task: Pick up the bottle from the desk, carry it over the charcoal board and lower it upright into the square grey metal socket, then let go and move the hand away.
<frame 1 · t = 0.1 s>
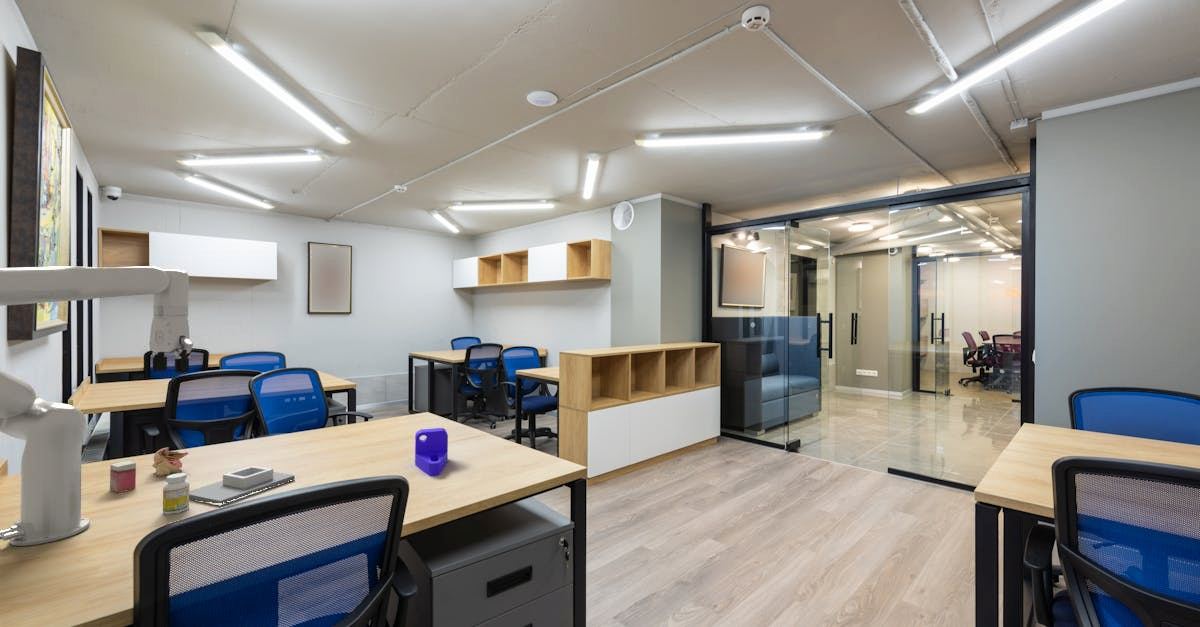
hand: (170, 371, 136), 37 cm above the table, tool pointing down, fingers open, 9 cm apart
small box: (122, 490, 142), on the table
supplement bottle: (176, 511, 128), on the table
bracket: (432, 468, 166), on the table
socket holder: (241, 488, 144), on the table
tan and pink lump: (167, 473, 157), on the table
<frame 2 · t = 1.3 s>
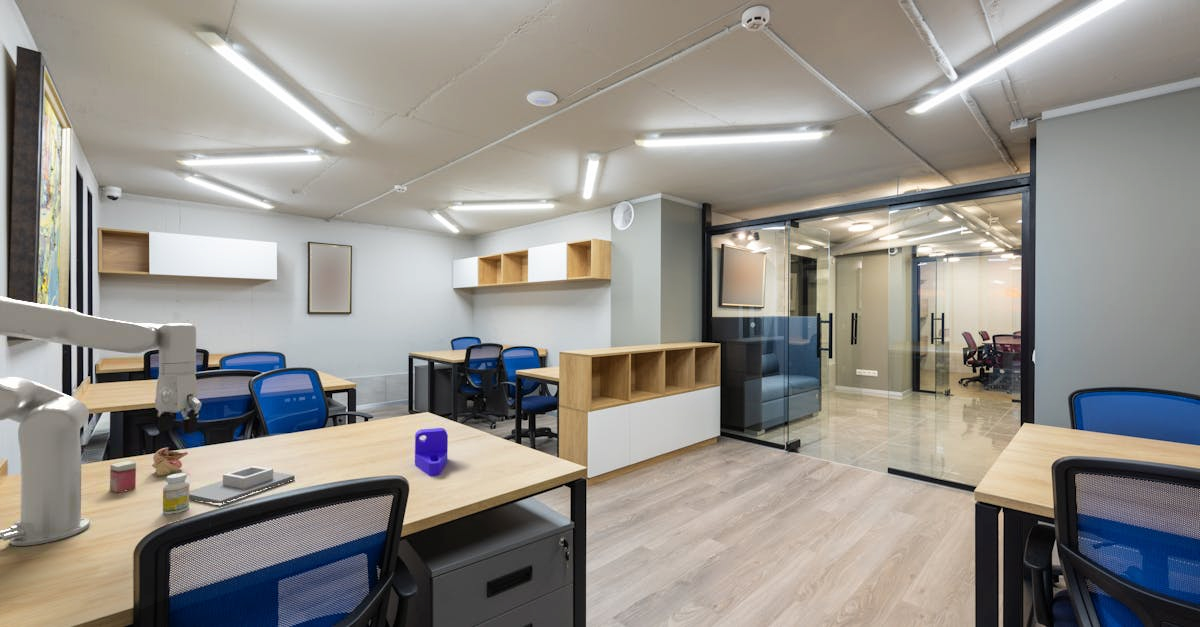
hand: (177, 431, 128), 21 cm above the table, tool pointing down, fingers open, 9 cm apart
nothing on the table moved.
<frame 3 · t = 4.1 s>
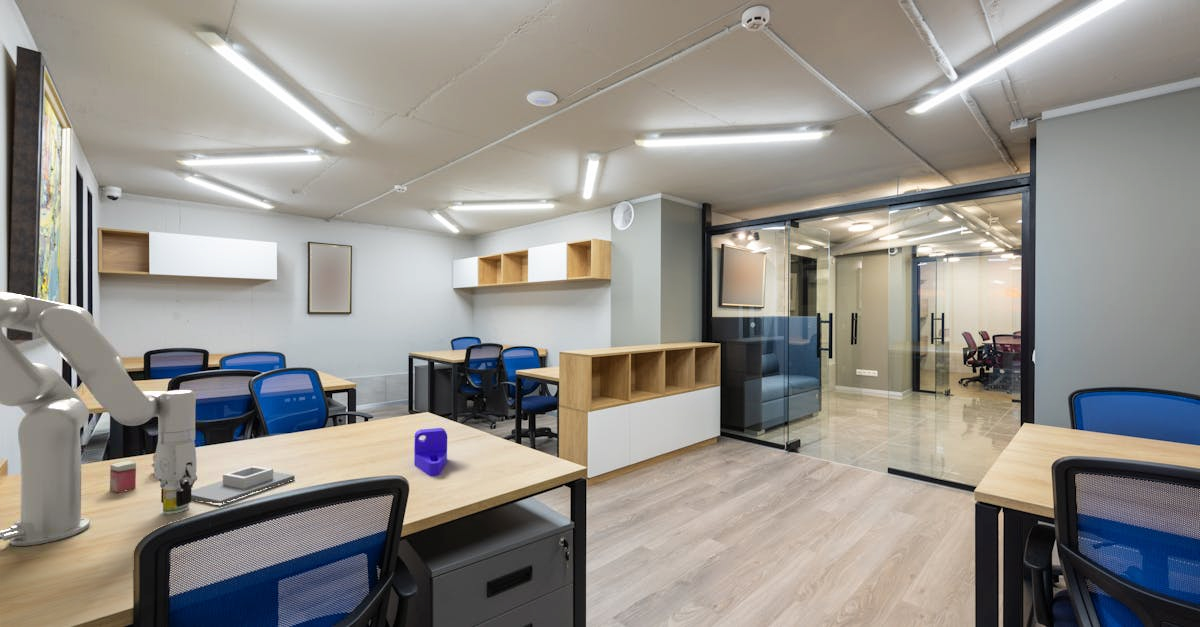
hand: (176, 502, 128), 2 cm above the table, tool pointing down, fingers closed on supplement bottle, 5 cm apart
supplement bottle: (176, 511, 128), on the table, touching gripper
everything else where it was.
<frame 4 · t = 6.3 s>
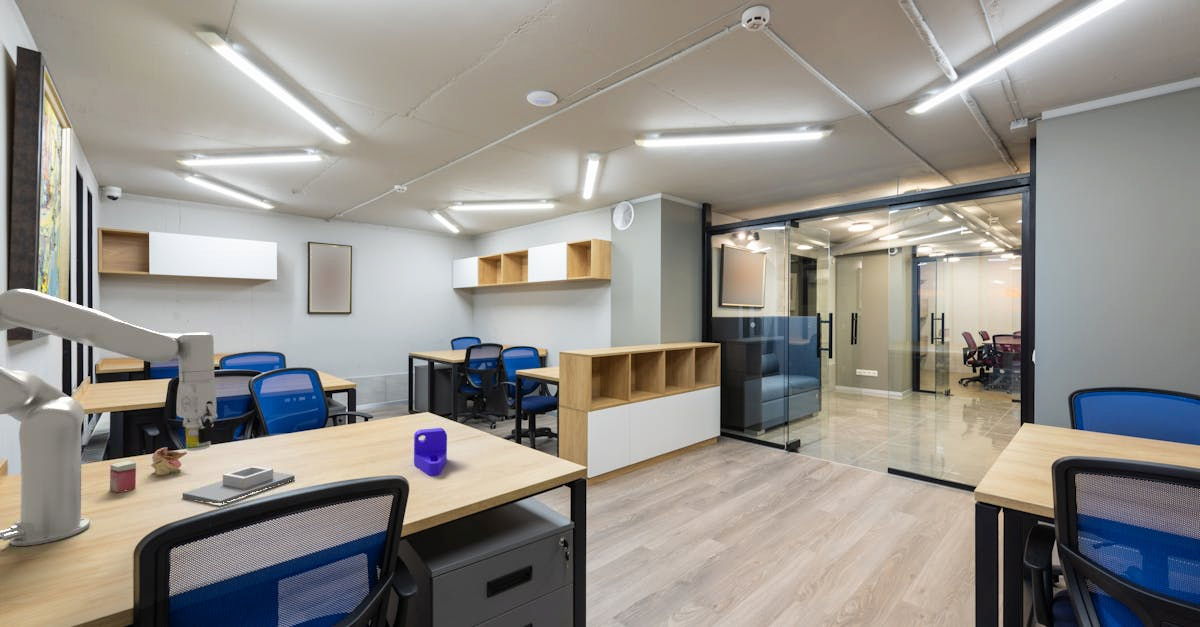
hand: (198, 440, 133), 18 cm above the table, tool pointing down, fingers closed on supplement bottle, 5 cm apart
supplement bottle: (198, 449, 133), point 15 cm above the table, touching gripper
everything else where it was.
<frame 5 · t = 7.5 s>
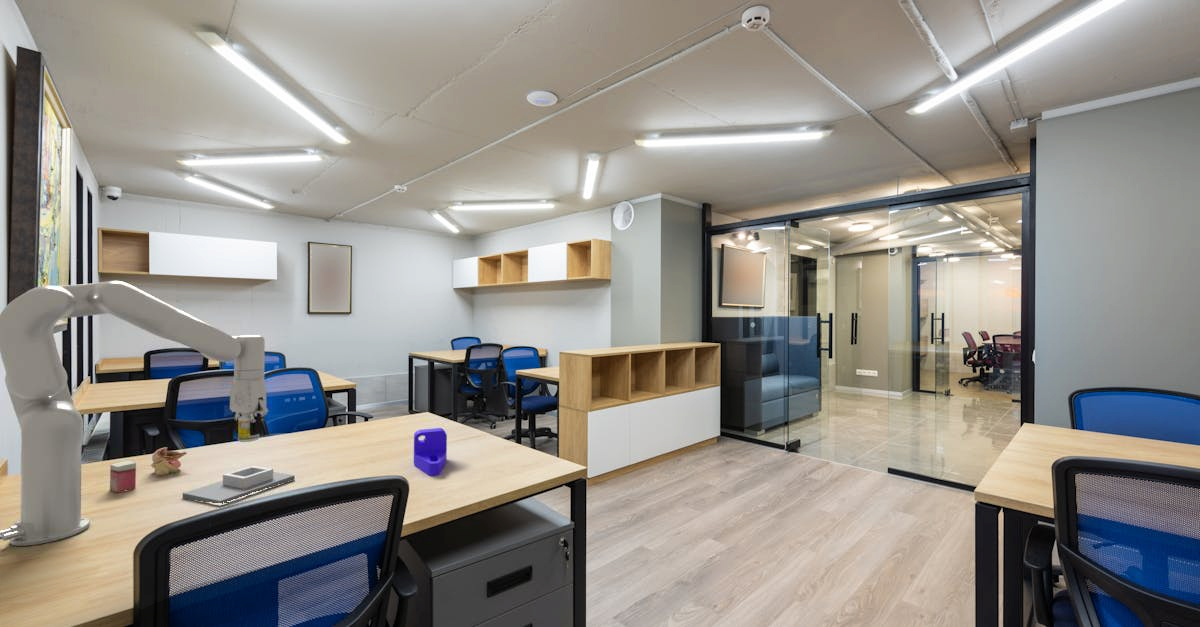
hand: (248, 432, 146), 17 cm above the table, tool pointing down, fingers closed on supplement bottle, 5 cm apart
supplement bottle: (248, 440, 146), point 14 cm above the table, touching gripper
everything else where it was.
when the fingers open (6 cm above the table, at t = 10.1 s): supplement bottle drops 2 cm, resting on socket holder.
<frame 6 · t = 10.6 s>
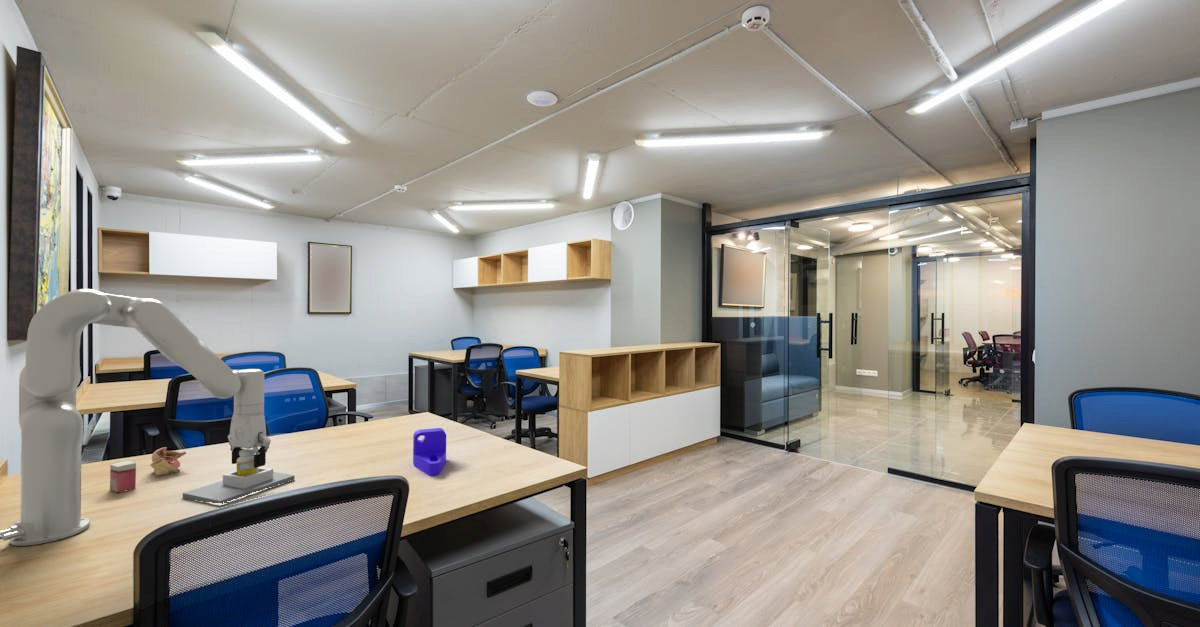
hand: (248, 464, 146), 7 cm above the table, tool pointing down, fingers open, 9 cm apart
supplement bottle: (247, 481, 146), point 1 cm above the table, touching socket holder
everything else where it was.
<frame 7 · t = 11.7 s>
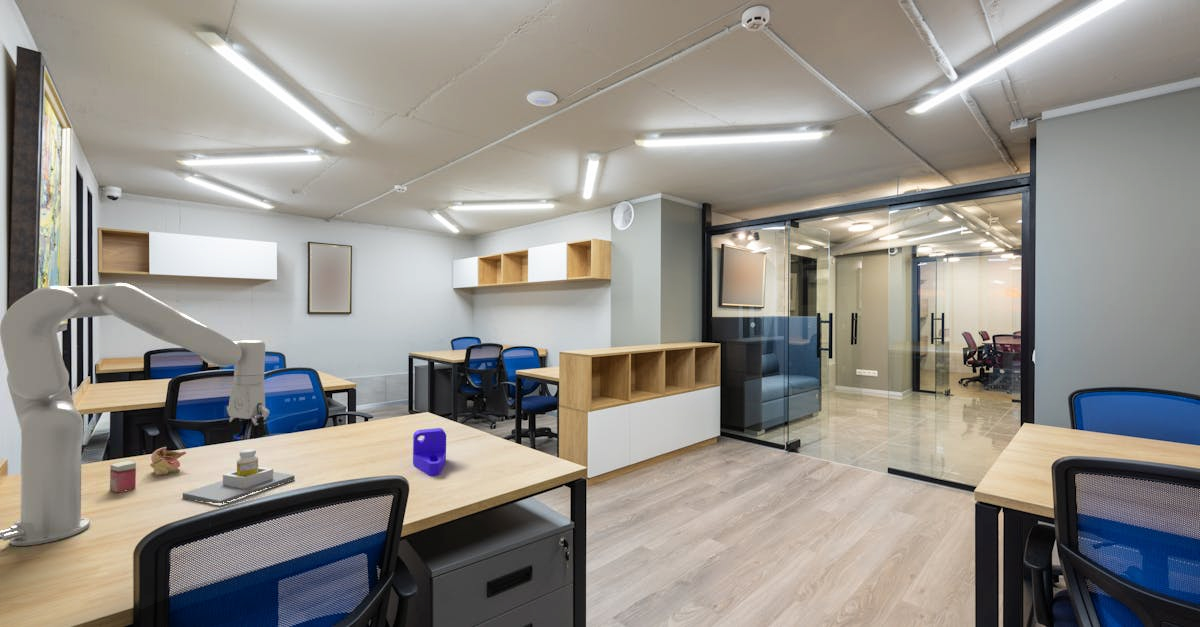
hand: (246, 435, 145), 16 cm above the table, tool pointing down, fingers open, 9 cm apart
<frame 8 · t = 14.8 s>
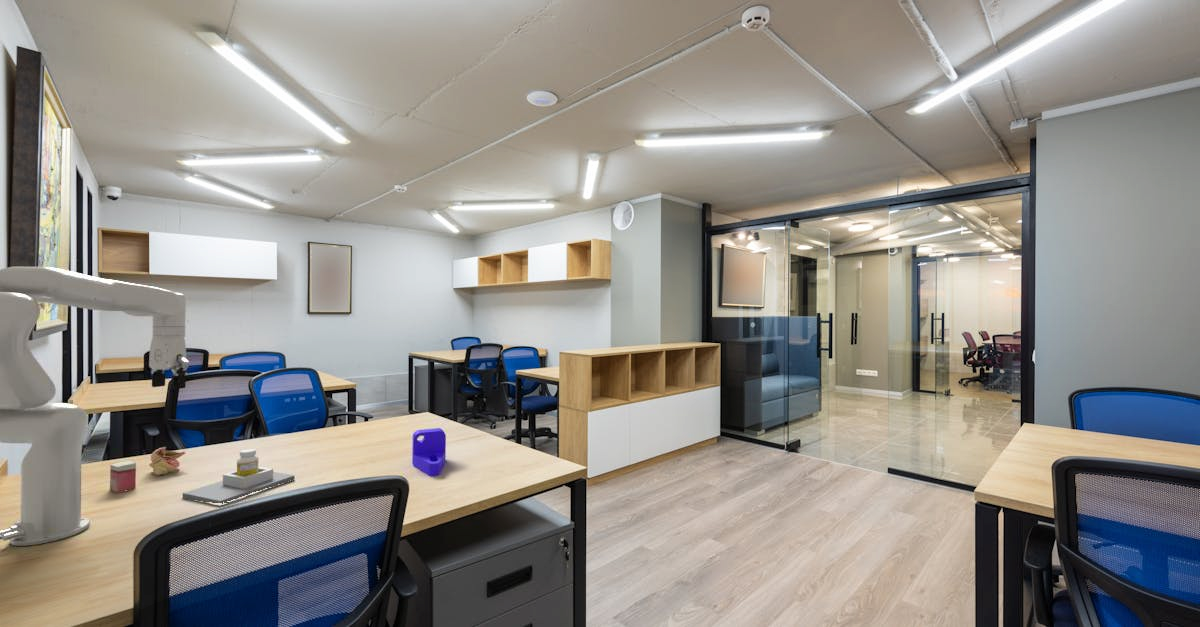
hand: (168, 387, 146), 30 cm above the table, tool pointing down, fingers open, 9 cm apart
at the end: supplement bottle 0.2 cm from the target spot on the socket holder, point 1.3 cm above the socket holder's base; supplement bottle tilted 0°; the gripper is holding nothing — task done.
